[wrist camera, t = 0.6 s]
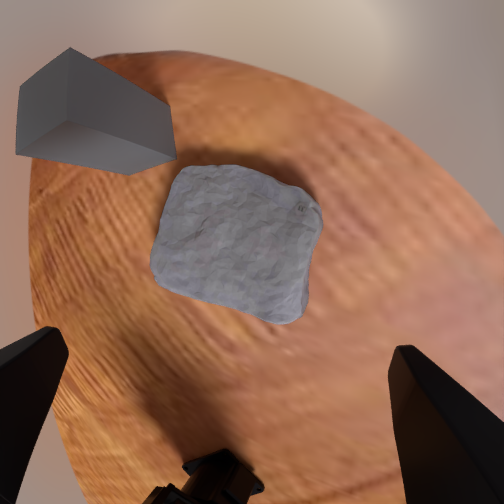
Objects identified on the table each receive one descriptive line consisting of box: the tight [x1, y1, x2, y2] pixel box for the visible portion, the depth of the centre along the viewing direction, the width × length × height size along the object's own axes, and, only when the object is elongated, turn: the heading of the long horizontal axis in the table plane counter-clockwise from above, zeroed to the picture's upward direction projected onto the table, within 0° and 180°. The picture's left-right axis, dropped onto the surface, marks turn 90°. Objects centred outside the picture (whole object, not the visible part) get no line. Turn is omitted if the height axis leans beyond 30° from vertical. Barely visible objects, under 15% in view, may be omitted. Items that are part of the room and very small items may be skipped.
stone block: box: [150, 164, 323, 324], centre depth 23 cm, size 12×5×10 cm
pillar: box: [16, 48, 177, 175], centre depth 20 cm, size 5×5×12 cm
